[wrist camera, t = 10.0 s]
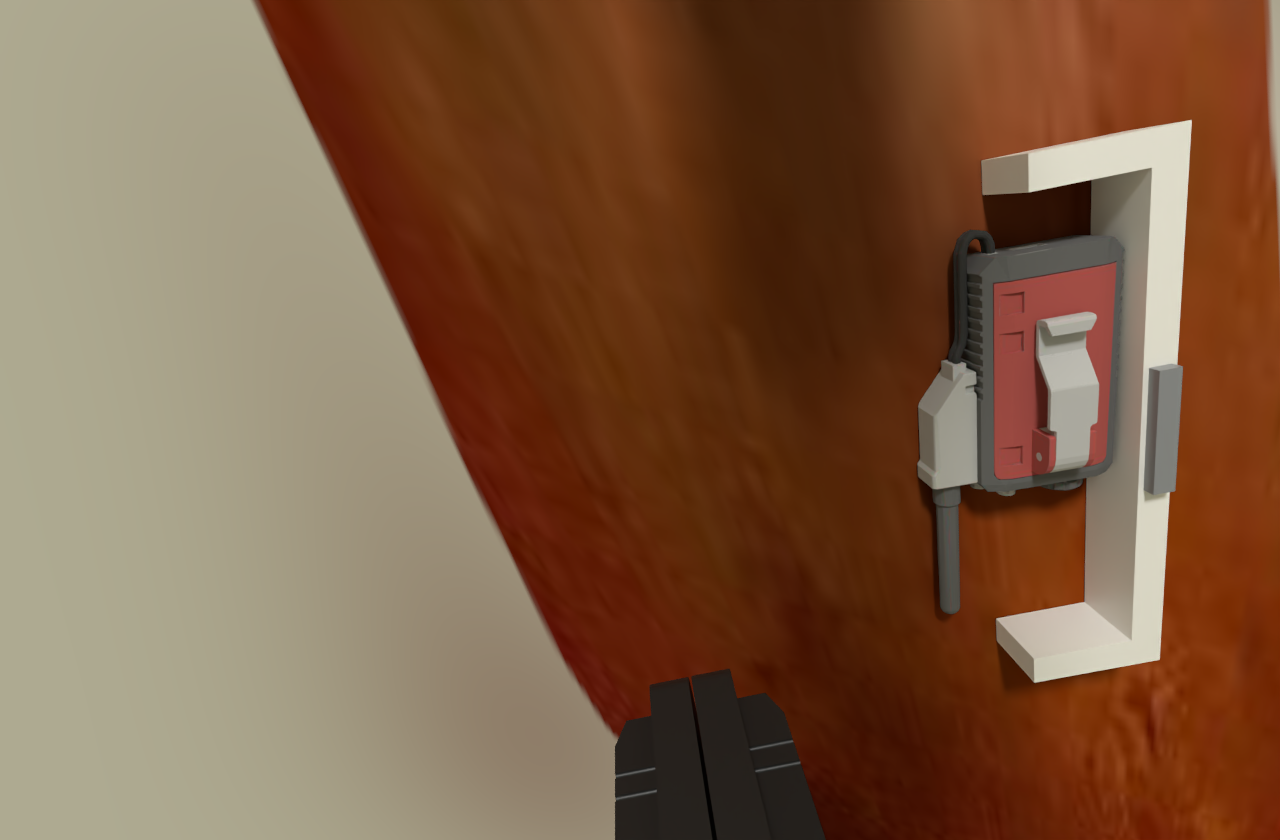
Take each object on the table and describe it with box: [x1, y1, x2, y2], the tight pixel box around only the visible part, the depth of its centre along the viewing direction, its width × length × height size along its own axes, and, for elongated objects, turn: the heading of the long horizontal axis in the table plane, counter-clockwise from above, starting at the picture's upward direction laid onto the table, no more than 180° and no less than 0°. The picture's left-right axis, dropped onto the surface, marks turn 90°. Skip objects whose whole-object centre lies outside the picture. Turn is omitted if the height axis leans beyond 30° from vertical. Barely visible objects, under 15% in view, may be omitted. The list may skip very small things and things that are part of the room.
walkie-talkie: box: [917, 230, 1125, 614], centre depth 31 cm, size 9×4×20 cm
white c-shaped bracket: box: [981, 120, 1192, 683], centre depth 31 cm, size 26×6×4 cm, turn 11°
